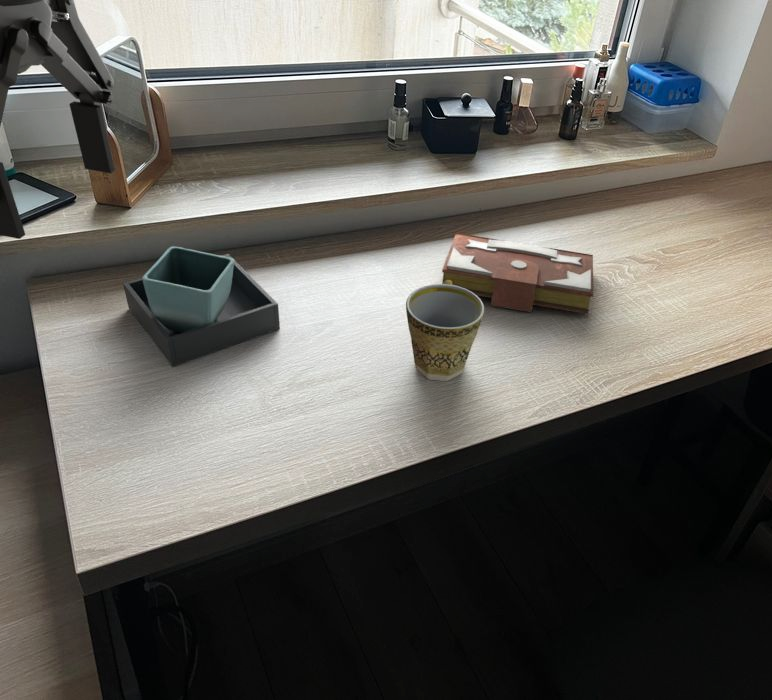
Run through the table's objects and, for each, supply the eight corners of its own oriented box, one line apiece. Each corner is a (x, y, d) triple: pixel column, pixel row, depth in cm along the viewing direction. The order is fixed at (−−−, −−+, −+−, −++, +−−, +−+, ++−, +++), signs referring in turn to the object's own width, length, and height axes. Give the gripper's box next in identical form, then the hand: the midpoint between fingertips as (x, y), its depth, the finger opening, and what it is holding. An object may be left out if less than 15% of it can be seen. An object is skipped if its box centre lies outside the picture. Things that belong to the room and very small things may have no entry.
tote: (172, 367, 93) (167, 340, 90) (128, 308, 101) (122, 283, 99) (280, 329, 101) (278, 303, 98) (231, 278, 110) (228, 253, 107)
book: (588, 275, 122) (594, 248, 119) (588, 321, 109) (595, 292, 106) (454, 253, 123) (457, 226, 120) (438, 296, 110) (441, 267, 107)
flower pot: (237, 312, 102) (235, 257, 97) (213, 349, 95) (210, 292, 89) (175, 300, 102) (170, 244, 96) (147, 336, 95) (140, 278, 89)
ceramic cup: (474, 393, 94) (483, 332, 88) (398, 385, 94) (401, 324, 88) (478, 334, 105) (485, 275, 98) (409, 326, 104) (412, 268, 98)
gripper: (-103, -23, 43) (3, 276, 56) (125, -78, 63) (164, 153, 76) (-216, -41, 44) (-85, 259, 57) (45, -90, 63) (97, 142, 76)
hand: (57, 199), depth 66 cm, fingers open, 13 cm apart
